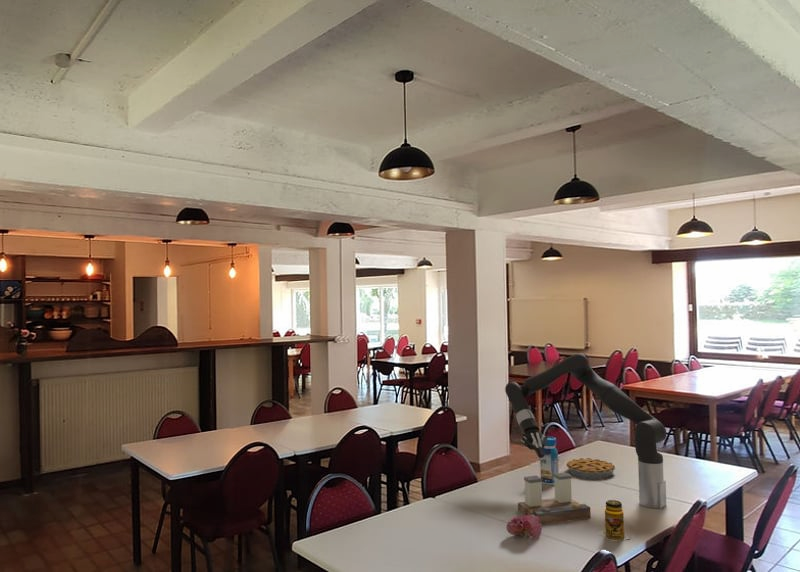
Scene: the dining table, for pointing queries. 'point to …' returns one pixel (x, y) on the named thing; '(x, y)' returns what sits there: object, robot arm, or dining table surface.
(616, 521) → the condiment
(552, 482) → the beverage bottle
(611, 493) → the dining table surface
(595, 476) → the pie
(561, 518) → the button board
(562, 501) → the marked plunger
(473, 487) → the dining table surface
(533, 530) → the flower
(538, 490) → the plunger
